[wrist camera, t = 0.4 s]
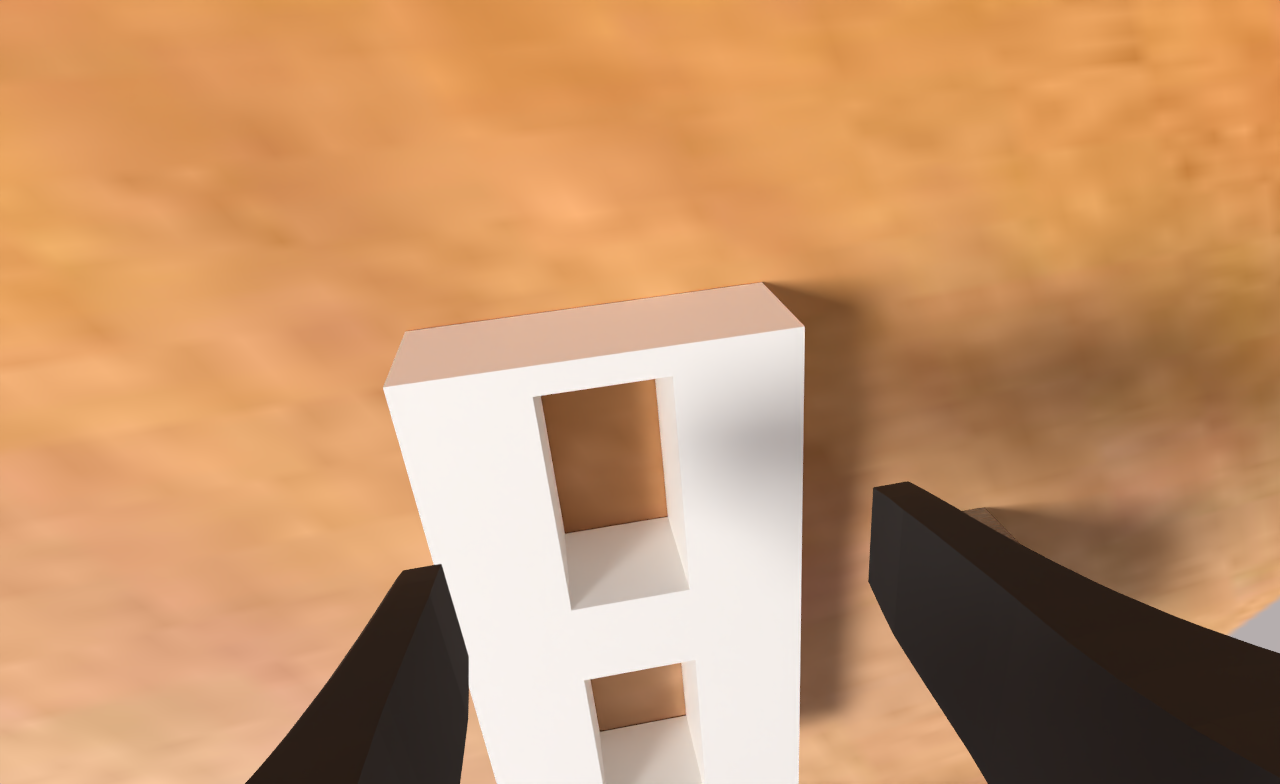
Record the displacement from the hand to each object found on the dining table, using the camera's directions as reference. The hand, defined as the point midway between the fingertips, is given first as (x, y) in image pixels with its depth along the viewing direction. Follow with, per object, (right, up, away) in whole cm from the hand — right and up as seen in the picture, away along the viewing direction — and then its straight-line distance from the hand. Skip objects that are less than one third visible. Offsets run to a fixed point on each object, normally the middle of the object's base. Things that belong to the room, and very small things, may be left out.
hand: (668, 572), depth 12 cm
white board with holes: (-1, -3, +12) cm, 12 cm away
